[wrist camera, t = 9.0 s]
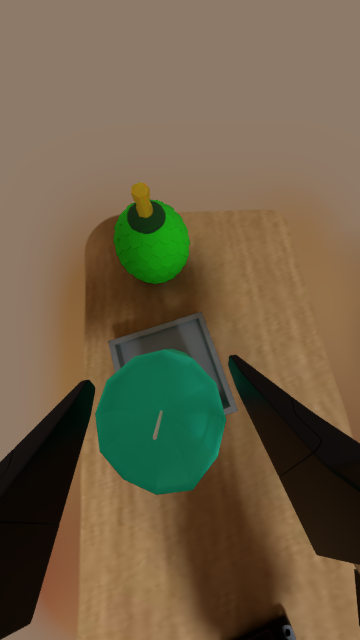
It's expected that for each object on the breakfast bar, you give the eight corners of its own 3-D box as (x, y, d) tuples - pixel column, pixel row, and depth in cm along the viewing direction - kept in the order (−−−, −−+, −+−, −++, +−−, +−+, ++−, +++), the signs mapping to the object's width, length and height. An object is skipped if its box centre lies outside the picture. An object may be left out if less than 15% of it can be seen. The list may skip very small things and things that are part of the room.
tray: (231, 403, 17) (238, 410, 15) (138, 437, 16) (133, 450, 14) (199, 315, 19) (201, 311, 17) (115, 342, 18) (108, 341, 16)
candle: (205, 385, 17) (274, 478, 5) (159, 412, 16) (108, 595, 4) (181, 339, 18) (188, 323, 6) (137, 363, 17) (44, 399, 5)
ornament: (192, 288, 20) (206, 229, 10) (133, 298, 19) (85, 246, 9) (181, 238, 21) (184, 142, 11) (126, 246, 21) (80, 154, 11)
